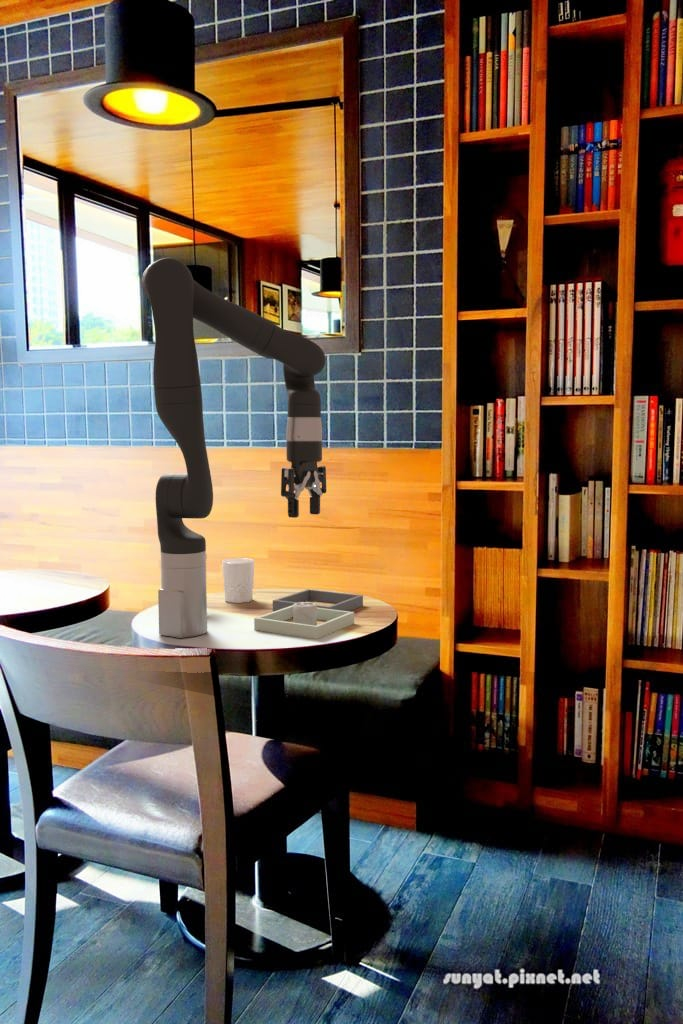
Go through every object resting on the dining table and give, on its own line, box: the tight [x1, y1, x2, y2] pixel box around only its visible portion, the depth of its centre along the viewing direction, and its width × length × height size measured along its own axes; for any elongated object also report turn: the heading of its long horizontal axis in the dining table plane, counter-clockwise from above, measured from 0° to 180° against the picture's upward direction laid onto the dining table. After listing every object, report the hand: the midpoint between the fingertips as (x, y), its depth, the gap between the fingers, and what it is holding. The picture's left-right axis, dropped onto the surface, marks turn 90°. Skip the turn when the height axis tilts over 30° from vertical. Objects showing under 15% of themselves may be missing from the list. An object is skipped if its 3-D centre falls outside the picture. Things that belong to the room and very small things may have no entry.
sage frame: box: [253, 605, 355, 640], centre depth 177 cm, size 16×16×2 cm
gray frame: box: [272, 588, 364, 612], centre depth 195 cm, size 16×16×2 cm
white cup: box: [221, 557, 255, 604], centre depth 204 cm, size 8×8×10 cm
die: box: [292, 601, 318, 626], centre depth 177 cm, size 5×5×5 cm
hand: (304, 515), depth 175 cm, fingers open, 8 cm apart
